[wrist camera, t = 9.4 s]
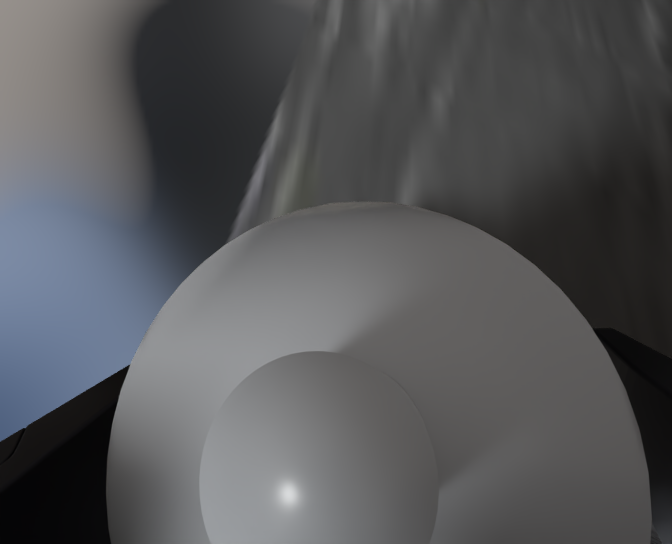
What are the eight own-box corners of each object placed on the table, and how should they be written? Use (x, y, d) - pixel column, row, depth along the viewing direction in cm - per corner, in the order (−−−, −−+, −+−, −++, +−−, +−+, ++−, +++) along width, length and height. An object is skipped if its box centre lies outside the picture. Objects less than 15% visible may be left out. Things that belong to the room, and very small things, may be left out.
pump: (480, 480, 15) (1090, 1285, 2) (325, 485, 16) (-130, 1023, 2) (455, 323, 17) (640, 69, 3) (317, 336, 18) (27, 178, 4)
